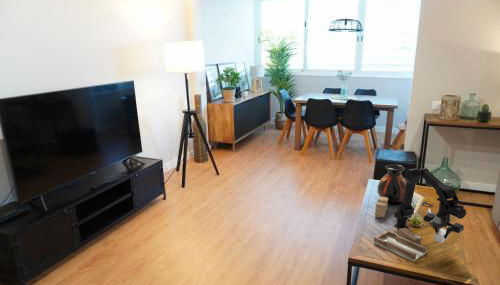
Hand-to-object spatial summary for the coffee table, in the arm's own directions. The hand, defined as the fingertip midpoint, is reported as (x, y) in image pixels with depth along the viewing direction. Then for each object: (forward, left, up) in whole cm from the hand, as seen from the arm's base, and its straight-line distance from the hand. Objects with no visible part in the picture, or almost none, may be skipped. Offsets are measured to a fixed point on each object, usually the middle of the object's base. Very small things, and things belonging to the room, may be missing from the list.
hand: (441, 237), depth 187 cm
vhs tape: (-55, -36, -10) cm, 67 cm away
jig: (+13, -16, -9) cm, 22 cm away
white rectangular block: (0, 0, -1) cm, 1 cm away
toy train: (-15, -47, -10) cm, 50 cm away
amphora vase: (-37, -53, -10) cm, 65 cm away
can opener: (-33, -21, -10) cm, 41 cm away
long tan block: (+1, -17, -10) cm, 19 cm away
